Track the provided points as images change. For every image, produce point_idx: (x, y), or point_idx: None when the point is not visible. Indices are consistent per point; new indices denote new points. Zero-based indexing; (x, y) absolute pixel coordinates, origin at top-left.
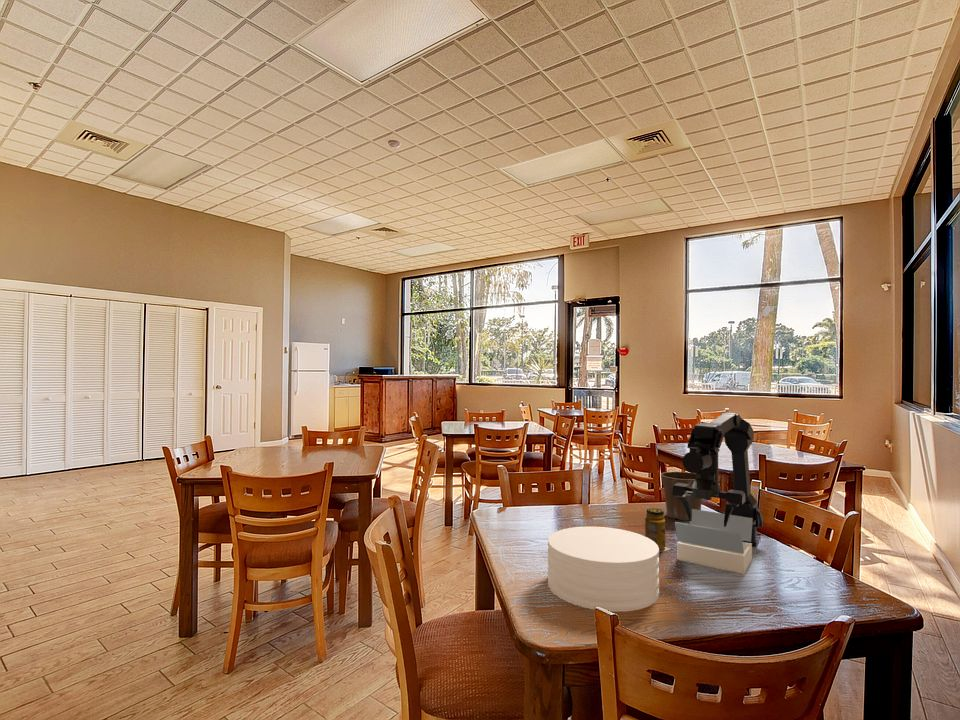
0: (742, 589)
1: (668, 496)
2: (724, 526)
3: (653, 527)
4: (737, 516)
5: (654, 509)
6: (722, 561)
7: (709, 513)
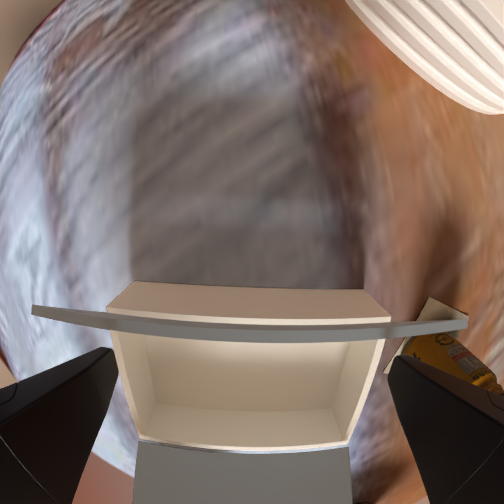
0: (118, 134)
1: None
2: (108, 348)
3: (471, 364)
4: None
5: None
6: (198, 297)
7: None
